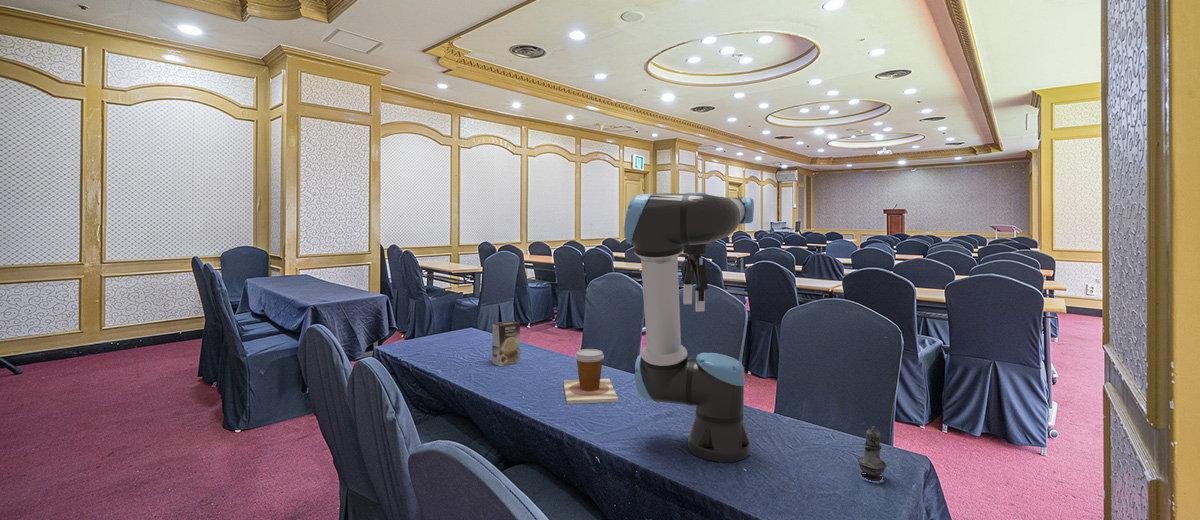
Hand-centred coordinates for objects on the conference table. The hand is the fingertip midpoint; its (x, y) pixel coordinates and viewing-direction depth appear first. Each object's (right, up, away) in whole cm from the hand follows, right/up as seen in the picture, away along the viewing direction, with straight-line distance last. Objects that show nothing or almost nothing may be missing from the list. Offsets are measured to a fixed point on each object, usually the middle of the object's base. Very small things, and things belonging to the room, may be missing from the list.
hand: (693, 307), depth 172 cm
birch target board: (-34, -28, +5) cm, 44 cm away
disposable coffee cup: (-33, -27, +5) cm, 43 cm away
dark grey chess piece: (+31, -34, -52) cm, 69 cm away
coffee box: (-67, -26, +39) cm, 81 cm away
